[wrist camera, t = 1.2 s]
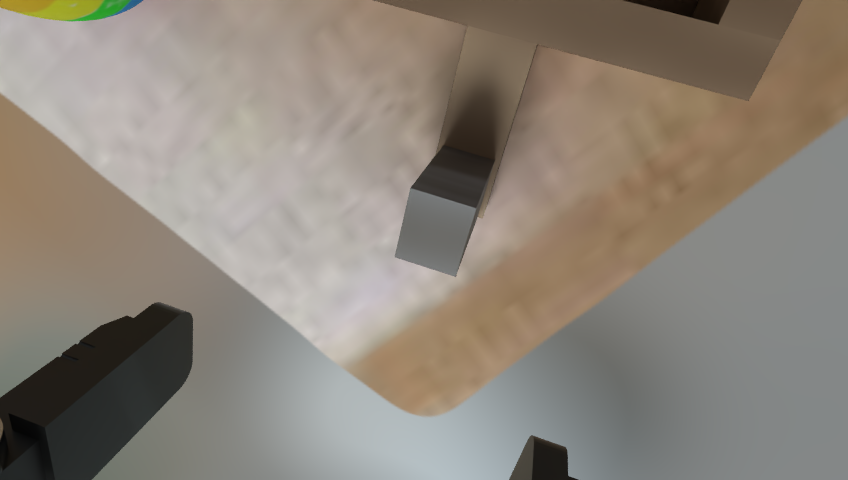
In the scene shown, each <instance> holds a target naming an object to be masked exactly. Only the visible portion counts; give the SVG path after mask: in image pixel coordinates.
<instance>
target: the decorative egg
mask: <svg viewBox="0 0 848 480" xmlns="http://www.w3.org/2000/svg"><path fill="white" fill-rule="evenodd" d="M142 1H143V0H0V7H1V8H3V9H7V10H10V11H14V12H17V13H21V14H24V15H28V16H33V17H39V18H44V19H51V20H61V21H87V20H97V19H103V18H107V17H110V16H114V15H117V14H120V13H122V12H125V11H127V10H129V9H131V8H133V7H134V6H136V5H137V4H139V3H140V2H142Z"/></svg>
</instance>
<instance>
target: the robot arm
mask: <svg viewBox="0 0 848 480" xmlns="http://www.w3.org/2000/svg"><path fill="white" fill-rule="evenodd" d="M192 349H193V318H192V315H191V314H190V313H189V312H186V311H183V310H180V309H177V308H175V307H172V306H169V305H166V304H163V303H160V302H158V303H154V304H152V305H151V306H149V307H148V308H147V309H145V310H144V311H143V312H141V313H140V314H139V315H137V316H136V317H135V318H132V317H129V316H125V317H122V318H120V319H117V320H115V321H112V322H109V323H107V324H104V325H101V326H100V327H98V328H97V329H96V330H94V331H93V332H91V333H90V334H89V335H87V336H86V337H84V338H83V339H82V340H80V342H79V344H75V345H73V346H72V347H70V348H69V349H68V350H66V351H65V352H63V353H62V356H61V357H56V358H55V359H54V360H52V361H51V362H50V363H48V364H47V365H45V366H44V367H42V368H41V369H40V370H38V371H37V372H35V373H34V374H33V375H31V376H30V377H29V378H27V379H26V380H24V381H23V382H22V383H20V384H19V385H17V386H16V387H15V388H13V389H12V390H10V391H9V392H8V393H6V394H5V395H3V396H2V397H1V398H0V480H92V479H93V478H94V477H95V476H96V475H97V474H98V472H99V471H101V469H102V468H103V467H104V466H105V465H106V464H107V463H108V462H109V461H110V460H111V459H112V458H113V457H114V456H115V455H116V454H117V453H118V452H119V451H120V450H121V449H122V448H123V447H124V446H125V445H126V444H127V443H128V442H129V441H130V440H131V438H132V437H133V436H134V435H135V434H136V433H137V432H138V431H139V430H140V429H141V428H142V427H143V426H144V425H145V424H146V423H147V422H148V421H149V420H150V419H151V418H152V417H153V416H154V415H155V414H156V413H157V412H158V411H159V410H160V408H162V406H163V405H164V404H165V403H166V402H167V401H168V400H169V399H170V398H171V397H172V396H173V395H174V394H175V393H176V392H177V391H178V390H179V389H180V388H181V387H182V385H183V384H184V382H185V381H186V379H187V377H188V375H189V373H190V370H191V367H192V355H193V353H192V352H193V350H192ZM509 480H578V479H575V478H572V477H569V476H568V455H567V449H566V447H563V446H561V445H558V444H555V443H552V442H549V441H546V440H544V439H541V438H538V437H535V436H530V437H529V439H528V441H527V443H526V445H525V447H524V449H523V451H522V453H521V456H520V458H519V460H518V462H517V464H516V466H515V468H514V470H513V472H512V475H511V477H510V479H509Z"/></svg>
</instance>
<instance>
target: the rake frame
mask: <svg viewBox="0 0 848 480" xmlns="http://www.w3.org/2000/svg"><path fill="white" fill-rule="evenodd" d="M374 1H378V2H382V3H385V4H389V5H393V6H396V7H400V8H404V9H408V10H411V11H415V12H419V13H422V14H426V15H430V16H434V17H437V18H441V19H445V20H448V21H452V22H456V23H460V24H463V25H467V30H466V34H465V38H464V42H463V46H462V50H461V54H460V58H459V62H458V66H457V70H456V75H455V79H454V83H453V87H452V91H451V95H450V99H449V103H448V107H447V111H446V115H445V119H444V123H443V127H442V131H441V135H440V139H439V144H438V148H437V152H436V156H435V157H434V158H433V159H432V161H431V162H430V163H429V165H428V166H427V167H426V169H425V170H424V171H423V172H422V174H421V175H420V176H419V178H418V179H417V180H416V182H415V183H414V184H413V185H412V187H411V188H410V192H409V197H408V201H407V206H406V210H405V214H404V219H403V223H402V227H401V232H400V236H399V241H398V245H397V249H396V254H395V257H396V258H399V259H402V260H406V261H409V262H412V263H415V264H418V265H421V266H424V267H427V268H430V269H433V270H436V271H439V272H442V273H446V274H449V275H452V276H455V277H456V274H457V271H458V269H459V266H460V263H461V261H462V258H463V255H464V252H465V250H466V247H467V244H468V242H469V239H470V236H471V233H472V231H473V228H474V225H475V222H476V220H477V217H479V218H483V215H484V212H485V209H486V206H487V203H488V200H489V197H490V193H491V190H492V187H493V184H494V181H495V178H496V174H497V171H498V168H499V165H500V162H501V158H502V155H503V152H504V149H505V146H506V142H507V139H508V136H509V133H510V130H511V127H512V123H513V120H514V117H515V114H516V111H517V107H518V104H519V101H520V98H521V95H522V91H523V88H524V85H525V82H526V79H527V76H528V72H529V69H530V66H531V63H532V60H533V56H534V53H535V50H536V47H537V44H538V45H541V46H545V47H549V48H553V49H556V50H560V51H564V52H567V53H571V54H575V55H579V56H582V57H586V58H590V59H593V60H597V61H601V62H605V63H608V64H612V65H616V66H619V67H623V68H627V69H631V70H634V71H638V72H642V73H646V74H649V75H653V76H657V77H660V78H664V79H668V80H672V81H675V82H679V83H683V84H686V85H690V86H694V87H698V88H701V89H705V90H709V91H712V92H716V93H720V94H724V95H727V96H731V97H735V98H738V99H742V100H746V101H749V99H750V97H751V96H752V94H753V92H754V90H755V88H756V86H757V84H758V82H759V81H760V79H761V77H762V75H763V73H764V71H765V69H766V67H767V66H768V64H769V62H770V60H771V58H772V56H773V54H774V52H775V50H776V49H777V47H778V45H779V43H780V41H781V39H782V37H783V35H784V34H785V32H786V30H787V28H788V26H789V24H790V22H791V20H792V19H793V17H794V15H795V13H796V11H797V9H798V7H799V5H800V4H801V2H802V0H699V2H698V4H697V7H696V9H695V11H694V13H693V16H692V18H690V17H686V16H682V15H679V14H675V13H671V12H667V11H663V10H659V9H655V8H651V7H647V6H643V5H639V4H635V3H631V2H627V1H624V0H374Z"/></svg>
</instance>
